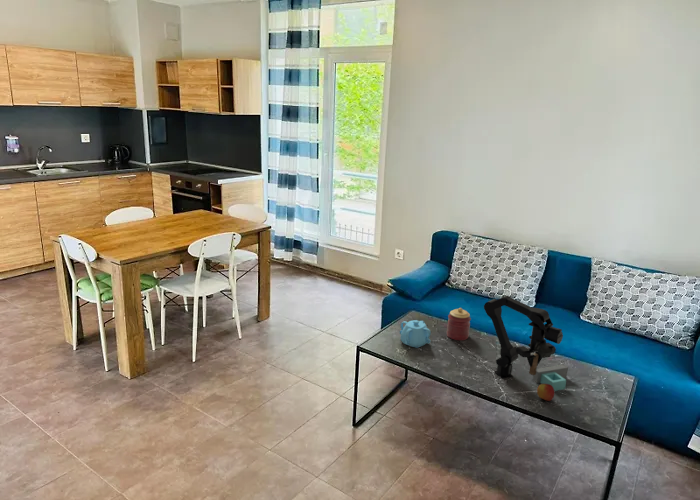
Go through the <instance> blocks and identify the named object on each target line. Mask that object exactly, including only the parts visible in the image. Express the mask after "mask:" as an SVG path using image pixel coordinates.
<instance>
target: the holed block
mask: <svg viewBox="0 0 700 500" xmlns="http://www.w3.org/2000/svg"><path fill="white" fill-rule="evenodd" d="M539 384H550V385H552V387H553V388H554V392H555V391H562V390H565V389H566V385H567V379H566V378H563V377H561V376H560V375H559V374H557V373H556V372H551V373H545V374H541V380H540V383H539Z"/></svg>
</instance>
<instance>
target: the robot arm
mask: <svg viewBox="0 0 700 500" xmlns="http://www.w3.org/2000/svg"><path fill="white" fill-rule="evenodd" d="M504 306H505V307H506V308H507V307H508V308H510V309H512V310H514V311H516V312H517V313H519V314H521V315H523V316H525V317H527V318H528V319H529V321H531V322H529V323H528V326H531V327H532V329H531V335H529V337H528V338H529V339H530V343H528V345H527V346H528V347H526V346H524V345H522V346H516V345H515V346H513V344H511V342H510V338H509V336H508V332H507V329H506V326H505V324H504V321H503V318H502V311H503V309H502V307H504ZM483 310H484V312H485V313H486V315H487V316H488V317H489V318H490V319H491V322H492V324H493V328H494V331H495V333H496V336H497V339H498V343H499V345H500V352H499V354H500V357H499V358H498V359H496V360H495V363H496V365H497V367H496V370H494V373H495V374H496V375H497V376H498V377H500V378H501V379H505V378H511V377H514V375H513V374H512V371H513V363H514V362H516V361H517V360H518V359H519V356H521V357H522V358H527V362H528V366H529V368H530V367H532V364H533V358H534V357H536V356H535V355H534V353H536V354H538V355H539V356H538V363H537V367H538V365H540V362H541V361H542V359H546V358H550V357H551V356H552V355H554V354H556V351H557V348H556V347H555V346H554V345H553V344H552V343H554V344H557V345H559V344H561V342H562V341H563V339H564V338H563V337H564V335H563V332H562V331H563V330H562V328H557V327H555V326H554V323H553V321H552V320H551V317H550V314H549V312H548V311H547V310H546V309H543V308H538V307H532V306H529V305H528V304H526V303H523V302H521V301H519V300H517V299H515V298H512V297H511V296H510V295H504V296H503V297H501V298H499V299H496V298H494V299H491V300H489V301H486V302H485V303H484V305H483ZM547 341H549V342H547ZM550 342H551V343H550Z"/></svg>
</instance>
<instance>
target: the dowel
mask: <svg viewBox="0 0 700 500" xmlns="http://www.w3.org/2000/svg"><path fill="white" fill-rule="evenodd" d="M534 355H535V356H536V357H534V358H533V364H532V367H530V366H529V372H528V374H529V375H532V376H533V375H536V369H538V366H537V363H538V356H539V355H538V354H536V353H535V352H534Z"/></svg>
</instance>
